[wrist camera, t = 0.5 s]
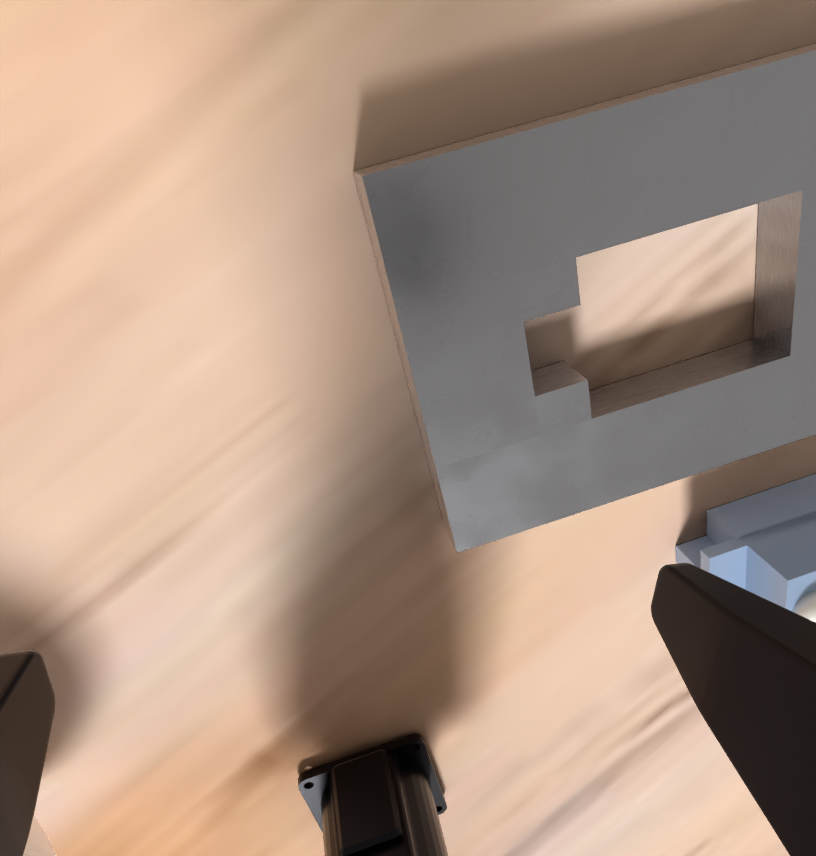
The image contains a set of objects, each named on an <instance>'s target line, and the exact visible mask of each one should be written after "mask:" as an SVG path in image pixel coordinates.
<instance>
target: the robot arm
mask: <svg viewBox="0 0 816 856" xmlns="http://www.w3.org/2000/svg"><path fill="white" fill-rule="evenodd" d="M651 612H652V617H653V620H654V623H655V625H656V627H657V629H658V631H659V633H660V635H661V637H662V639H663V641H664V643H665V645H666V647H667V649H668V651H669V653H670V655H671V657H672V659H673V661H674V663H675V664H676V666H677V668H678V670H679V672H680V674H681V676H682V678H683V680H684V682H685V684H686V686H687V688H688V690H689V692H690V694H691V696H692V698H693V700H694V702H695V704H696V705H697V707H698V709H699V711H700V712H701V714H702V716H703V717H704V719H705V721H706V723H707V724H708V726H709V727H710V729H711V731H712V732H713V734H714V735H715V737H716V739H717V740H718V742H719V743H720V745H721V746H722V748H723V750H724V751H725V753H726V754H727V756H728V758H729V759H730V761H731V762H732V764H733V766H734V767H735V769H736V770H737V772H738V774H739V775H740V777H741V778H742V780H743V781H744V783H745V785H746V786H747V788H748V789H749V791H750V793H751V794H752V796H753V797H754V799H755V801H756V802H757V804H758V805H759V807H760V808H761V810H762V812H763V813H764V815H765V816H766V818H767V820H768V821H769V823H770V824H771V826H772V828H773V829H774V831H775V832H776V834H777V836H778V837H779V839H780V840H781V842H782V843H783V845H784V847H785V848H786V850H787V851H788V853H789V855H790V856H816V623H815V622H813V621H811V620H809V619H807V618H805V617H803V616H801V615H798V614H796V613H794V612H792V611H790V610H788V609H786V608H784V607H781V606H779V605H777V604H775V603H773V602H771V601H769V600H767V599H764V598H762V597H760V596H758V595H756V594H754V593H752V592H750V591H747V590H745V589H743V588H741V587H739V586H737V585H735V584H733V583H730V582H728V581H726V580H724V579H722V578H720V577H718V576H716V575H713V574H711V573H709V572H707V571H705V570H703V569H701V568H699V567H696V566H694V565H692V564H690V563H678V564H670V565H665V566H663V567H662V568H661V570H660V571H659V574H658V578H657V582H656V587H655V591H654V595H653V600H652V604H651ZM54 712H55V695H54V691H53V688H52V685H51V682H50V679H49V676H48V673H47V670H46V667H45V663H44V660H43V658H42V655H41V654H40V653H39V651H37V650H24V651H16V652H9V653H5V654H2V655H0V856H23V854H24V850H25V847H26V843H27V840H28V837H29V833H30V829H31V824H32V820H33V815H34V811H35V806H36V801H37V796H38V791H39V786H40V781H41V776H42V772H43V767H44V762H45V757H46V752H47V747H48V742H49V737H50V732H51V727H52V722H53V717H54ZM298 787H299V790H300V792H301V794H302V796H303V797H304V799H305V801H306V803H307V805H308V806H309V808H310V810H311V812H312V814H313V816H314V817H315V819H316V821H317V823H318V825H319V827H320V828H321V830H322V832H323V839H324V851H325V856H448V853H447V849H446V845H445V841H444V837H443V833H442V829H441V825H440V821H439V817H438V815H439V814H442V813H443V812H444V811H445V810H446V809H447V805H446V802H445V798H444V795H443V792H442V790H441V787H440V784H439V781H438V778H437V776H436V773H435V770H434V767H433V764H432V761H431V759H430V756H429V753H428V750H427V747H426V744H425V742H424V739H423V737H422V735H420V734H412V735H409V736H406V737H403V738H401V739H398V740H395V741H392V742H389V743H386V744H383V745H381V746H378V747H375V748H372V749H369V750H366V751H364V752H361V753H358V754H355V755H352V756H349V757H347V758H344V759H341V760H338V761H335V762H332V763H329V764H327V765H324V766H321V767H318V768H315V769H312V770H310V771H307V772H304V773H302V774H301V775H300V776H299V778H298Z"/></svg>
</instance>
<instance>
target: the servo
mask: <svg viewBox="0 0 816 856" xmlns="http://www.w3.org/2000/svg"><path fill="white" fill-rule="evenodd" d="M676 562H677V563H690V564H692V565H694V566H696V567H699V568H701V569H703V570H705V571H707V572H709V573H711V574H713V575H716V576H718V577H720V578H722V579H724V580H726V581H728V582H730V583H733V584H735V585H737V586H739V587H741V588H743V589H745V590H747V591H750V592H752V593H754V594H756V595H758V596H760V597H762V598H764V599H767V600H769V601H771V602H773V603H775V604H777V605H779V606H781V607H784V608H786V609H788V610H790V611H792V612H794V613H796V614H798V615H801V616H803V617H805V618H807V619H809V620H811V621H813V622H815V623H816V474H813V475H810V476H807V477H804V478H801V479H798V480H795V481H792V482H789V483H786V484H783V485H780V486H777V487H774V488H771V489H768V490H766V491H763V492H760V493H757V494H754V495H751V496H748V497H745V498H742V499H739V500H736V501H733V502H730V503H727V504H724V505H721V506H718V507H715V508H712V509H709V510H707V535H706V536H703V537H700V538H697V539H694V540H691V541H688V542H686V543H683V544H680V545H677V546H676Z"/></svg>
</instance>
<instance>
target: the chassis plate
mask: <svg viewBox="0 0 816 856" xmlns="http://www.w3.org/2000/svg"><path fill="white" fill-rule="evenodd" d="M353 173H354V177H355V181H356V185H357V188H358V192H359V196H360V200H361V204H362V208H363V212H364V216H365V220H366V223H367V227H368V231H369V235H370V239H371V243H372V247H373V251H374V254H375V258H376V262H377V266H378V270H379V274H380V278H381V282H382V285H383V289H384V293H385V297H386V301H387V305H388V309H389V313H390V317H391V320H392V324H393V328H394V332H395V336H396V340H397V344H398V348H399V351H400V355H401V359H402V363H403V367H404V371H405V375H406V379H407V382H408V386H409V390H410V394H411V398H412V402H413V406H414V410H415V414H416V417H417V421H418V425H419V429H420V433H421V437H422V441H423V445H424V448H425V452H426V456H427V460H428V464H429V468H430V472H431V476H432V479H433V483H434V487H435V491H436V495H437V499H438V503H439V507H440V511H441V514H442V518H443V522H444V525H445V527H446V529H447V532H448V534H449V536H450V538H451V541H452V543H453V545H454V547H455V549H456V552H457V553H458V552H461V551H464V550H467V549H470V548H473V547H477V546H480V545H483V544H486V543H489V542H492V541H495V540H498V539H501V538H504V537H507V536H510V535H513V534H516V533H519V532H522V531H525V530H528V529H531V528H534V527H537V526H540V525H543V524H546V523H549V522H552V521H555V520H558V519H561V518H564V517H567V516H570V515H573V514H576V513H579V512H582V511H585V510H589V509H592V508H595V507H598V506H601V505H604V504H607V503H610V502H613V501H616V500H619V499H622V498H625V497H628V496H631V495H634V494H637V493H640V492H643V491H646V490H649V489H652V488H655V487H658V486H661V485H664V484H667V483H670V482H673V481H676V480H679V479H682V478H685V477H688V476H691V475H694V474H697V473H701V472H704V471H707V470H710V469H713V468H716V467H719V466H722V465H725V464H728V463H731V462H734V461H737V460H740V459H743V458H746V457H749V456H752V455H755V454H758V453H761V452H764V451H767V450H770V449H773V448H776V447H779V446H782V445H785V444H788V443H791V442H794V441H797V440H800V439H803V438H806V437H809V436H812V435H816V43H815V44H811V45H807V46H804V47H800V48H797V49H793V50H789V51H786V52H782V53H779V54H775V55H771V56H768V57H764V58H760V59H757V60H753V61H750V62H746V63H742V64H739V65H735V66H732V67H728V68H724V69H721V70H717V71H714V72H710V73H706V74H703V75H699V76H695V77H692V78H688V79H685V80H681V81H677V82H674V83H670V84H667V85H663V86H659V87H656V88H652V89H649V90H645V91H641V92H638V93H634V94H631V95H627V96H623V97H620V98H616V99H612V100H609V101H605V102H602V103H598V104H594V105H591V106H587V107H584V108H580V109H576V110H573V111H569V112H566V113H562V114H558V115H555V116H551V117H548V118H544V119H540V120H537V121H533V122H529V123H526V124H522V125H519V126H515V127H511V128H508V129H504V130H501V131H497V132H493V133H490V134H486V135H483V136H479V137H475V138H472V139H468V140H465V141H461V142H457V143H454V144H450V145H446V146H443V147H439V148H436V149H432V150H428V151H425V152H421V153H418V154H414V155H410V156H407V157H403V158H400V159H396V160H392V161H389V162H385V163H382V164H378V165H374V166H371V167H367V168H363V169H360V170H356V171H353ZM757 203H759V209H758V233H757V256H756V280H755V304H754V327H753V339H752V340H749V341H746V342H743V343H739V344H736V345H733V346H730V347H727V348H724V349H720V350H717V351H714V352H711V353H708V354H705V355H701V356H698V357H695V358H692V359H689V360H685V361H682V362H679V363H676V364H673V365H670V366H666V367H663V368H660V369H657V370H654V371H650V372H647V373H644V374H641V375H638V376H635V377H631V378H628V379H625V380H622V381H619V382H616V383H612V384H609V385H606V386H603V387H600V388H596V389H593V390H590V391H589V386H588V380H587V379H586V378H585V377H584V376H582V375H581V374H580V373H578V372H577V371H576V370H575V369H573V368H572V367H571V366H570V365H568V364H567V363H566V362H565V361H561V362H558V363H555V364H552V365H548V366H545V367H542V368H539V369H535V370H532V371H531V368H530V361H529V354H528V348H527V341H526V334H525V327H524V322H525V321H529V320H532V319H535V318H539V317H542V316H545V315H548V314H552V313H555V312H558V311H562V310H565V309H568V308H572V307H575V306H578V305H580V296H579V286H578V276H577V266H576V257H578V256H582V255H585V254H589V253H592V252H595V251H599V250H602V249H605V248H609V247H612V246H615V245H619V244H622V243H626V242H629V241H632V240H636V239H639V238H642V237H646V236H649V235H653V234H656V233H659V232H663V231H666V230H669V229H673V228H676V227H680V226H683V225H686V224H690V223H693V222H696V221H700V220H703V219H707V218H710V217H713V216H717V215H720V214H723V213H727V212H730V211H734V210H737V209H740V208H744V207H747V206H750V205H754V204H757Z"/></svg>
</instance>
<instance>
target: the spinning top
mask: <svg viewBox="0 0 816 856" xmlns="http://www.w3.org/2000/svg"><path fill="white" fill-rule="evenodd" d="M23 856H57V854H56V852H55V850H54V848H53V846H52V844H51V842H50V840H49V838H48V836H47V835H46V833H45V831H44V830H43V828H42V827H41V825H40V823H39V822H38V821H37V819H36V818H35V816H34V815H33V820H32V824H31V829H30V833H29V837H28V840H27V843H26V847H25V850H24V854H23Z"/></svg>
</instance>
